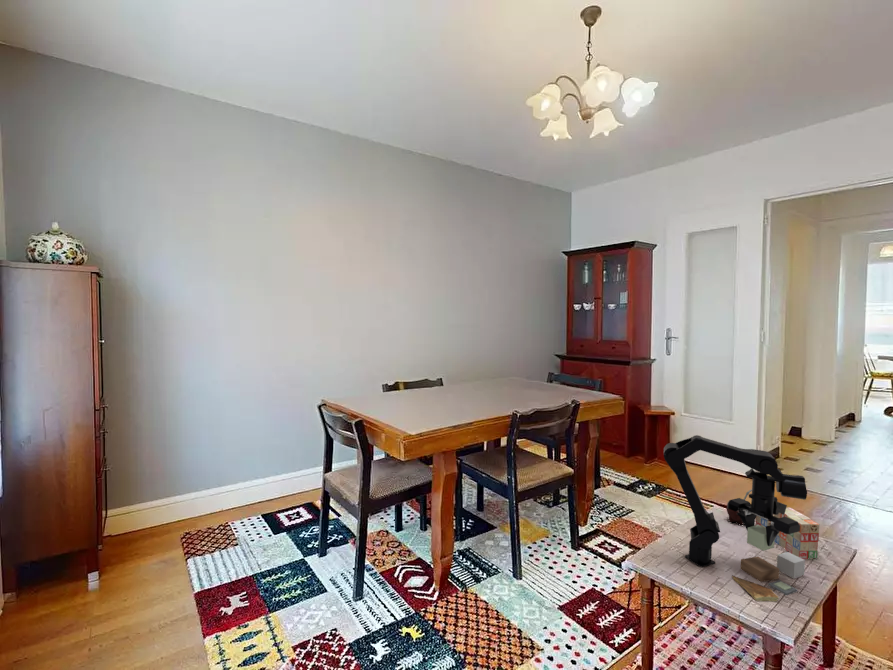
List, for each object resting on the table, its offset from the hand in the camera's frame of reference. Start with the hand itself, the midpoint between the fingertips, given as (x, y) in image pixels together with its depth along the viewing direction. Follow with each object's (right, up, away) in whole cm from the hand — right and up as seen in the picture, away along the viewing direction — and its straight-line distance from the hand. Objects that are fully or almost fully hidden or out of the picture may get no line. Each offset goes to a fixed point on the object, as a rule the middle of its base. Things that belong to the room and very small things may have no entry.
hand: (760, 541), depth 139 cm
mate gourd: (+16, -9, +34) cm, 39 cm away
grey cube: (+10, -11, +1) cm, 15 cm away
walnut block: (0, -11, +1) cm, 11 cm away
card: (+2, -11, -7) cm, 13 cm away
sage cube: (0, -1, 0) cm, 1 cm away
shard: (-8, -12, -9) cm, 17 cm away
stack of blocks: (+22, -10, +20) cm, 31 cm away
